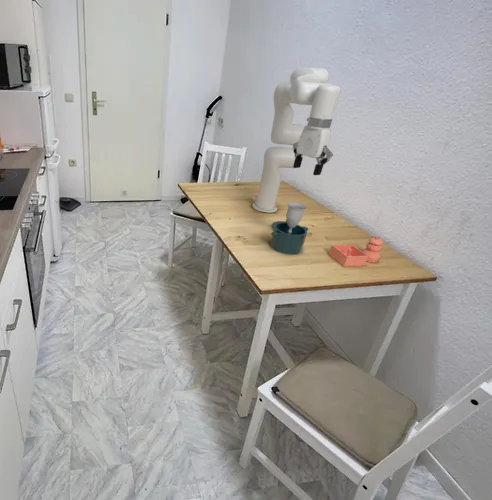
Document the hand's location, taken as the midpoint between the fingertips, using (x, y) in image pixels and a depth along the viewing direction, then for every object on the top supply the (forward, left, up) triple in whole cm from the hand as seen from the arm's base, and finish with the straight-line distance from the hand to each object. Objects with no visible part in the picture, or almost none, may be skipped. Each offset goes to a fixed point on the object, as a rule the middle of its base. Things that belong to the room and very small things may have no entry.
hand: (306, 171), depth 135 cm
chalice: (0, 0, -32) cm, 32 cm away
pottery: (+18, +20, -32) cm, 42 cm away
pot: (0, 0, -32) cm, 32 cm away
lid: (-14, +14, -32) cm, 37 cm away
